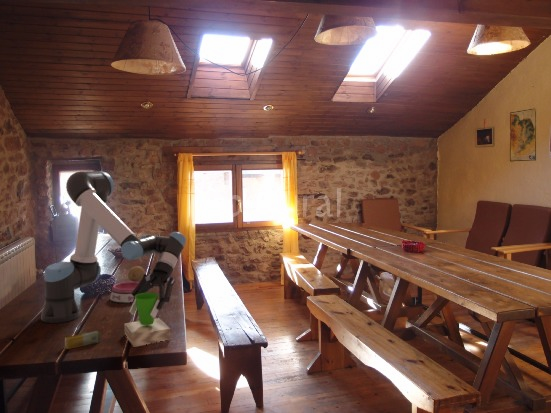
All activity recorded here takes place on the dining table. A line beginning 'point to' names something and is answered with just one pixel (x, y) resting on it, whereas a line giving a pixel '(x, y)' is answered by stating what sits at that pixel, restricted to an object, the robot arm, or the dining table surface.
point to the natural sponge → (136, 274)
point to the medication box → (82, 340)
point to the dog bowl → (123, 292)
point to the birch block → (146, 332)
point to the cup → (146, 307)
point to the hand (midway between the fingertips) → (141, 314)
